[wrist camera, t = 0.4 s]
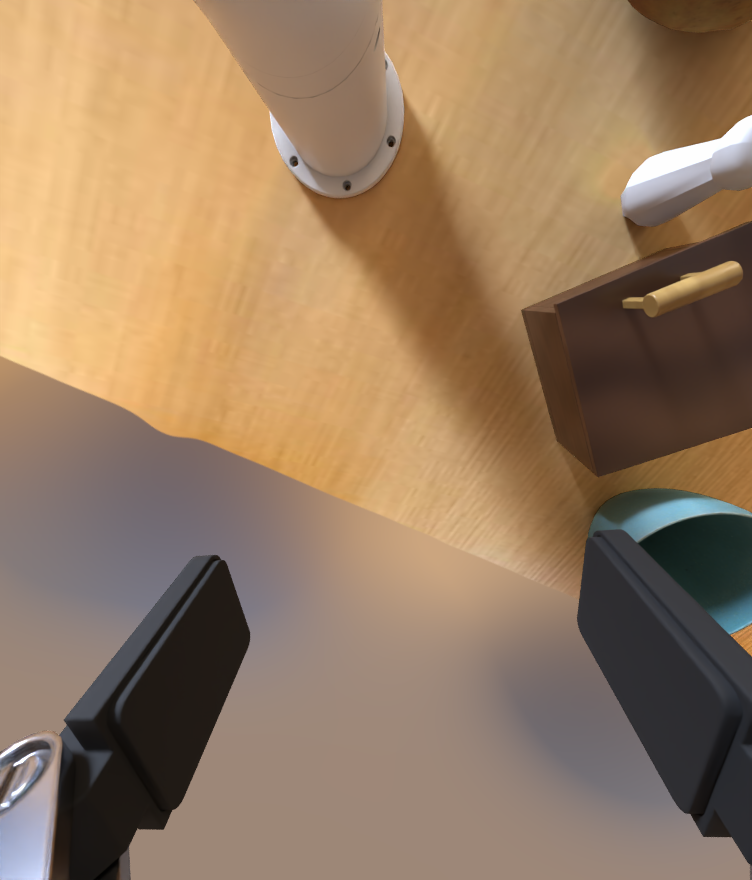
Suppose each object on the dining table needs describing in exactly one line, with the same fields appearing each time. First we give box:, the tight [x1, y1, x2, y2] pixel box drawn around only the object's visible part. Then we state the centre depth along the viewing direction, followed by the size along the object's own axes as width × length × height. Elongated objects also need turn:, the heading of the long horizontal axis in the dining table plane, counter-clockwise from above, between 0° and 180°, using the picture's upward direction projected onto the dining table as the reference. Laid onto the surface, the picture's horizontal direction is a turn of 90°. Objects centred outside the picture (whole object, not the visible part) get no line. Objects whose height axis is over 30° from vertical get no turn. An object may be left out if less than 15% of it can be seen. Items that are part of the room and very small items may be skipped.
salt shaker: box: [621, 115, 752, 227], centre depth 29 cm, size 6×6×13 cm
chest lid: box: [553, 221, 752, 477], centre depth 29 cm, size 18×15×5 cm
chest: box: [521, 242, 699, 473], centre depth 36 cm, size 17×15×9 cm
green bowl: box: [587, 488, 752, 635], centre depth 42 cm, size 18×18×12 cm
